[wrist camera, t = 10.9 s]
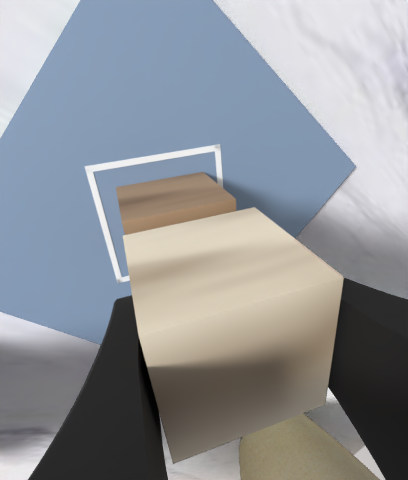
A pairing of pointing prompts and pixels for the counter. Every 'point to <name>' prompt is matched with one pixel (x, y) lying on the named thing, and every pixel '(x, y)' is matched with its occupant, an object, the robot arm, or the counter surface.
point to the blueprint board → (142, 149)
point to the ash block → (231, 326)
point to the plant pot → (298, 454)
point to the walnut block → (171, 202)
